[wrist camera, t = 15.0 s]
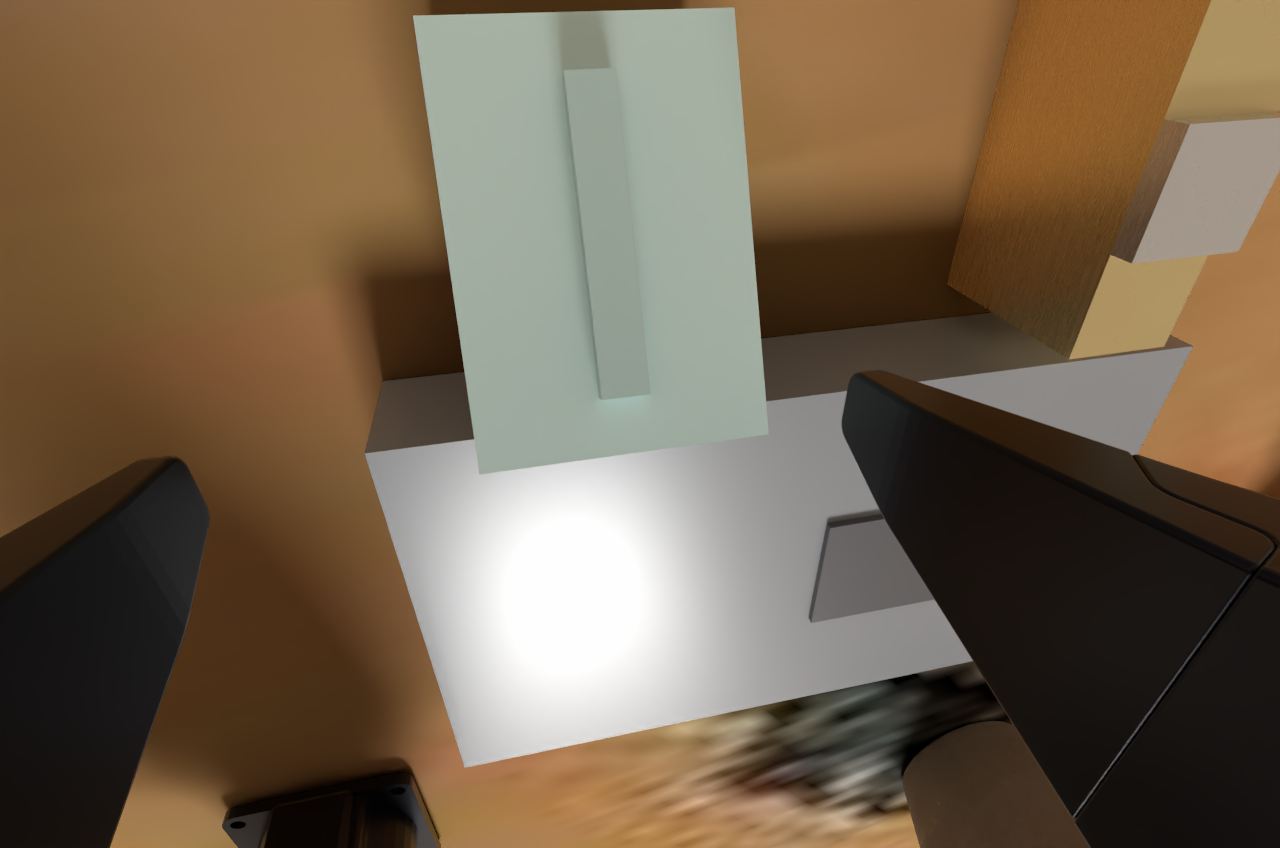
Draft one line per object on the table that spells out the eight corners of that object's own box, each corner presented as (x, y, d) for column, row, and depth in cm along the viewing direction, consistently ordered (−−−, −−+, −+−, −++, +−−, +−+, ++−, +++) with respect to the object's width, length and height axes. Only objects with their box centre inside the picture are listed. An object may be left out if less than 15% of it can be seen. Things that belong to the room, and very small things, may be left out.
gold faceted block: (1123, -37, 14) (1392, -51, 10) (1022, 274, 18) (1184, 357, 14) (1025, -35, 13) (1262, -48, 9) (944, 282, 17) (1086, 370, 13)
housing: (983, 584, 25) (1041, 652, 23) (466, 682, 22) (464, 774, 20) (1099, 300, 19) (1200, 349, 16) (382, 381, 15) (363, 458, 13)
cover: (718, 416, 14) (777, 438, 11) (489, 446, 13) (477, 479, 10) (687, 82, 13) (742, -6, 10) (439, 93, 12) (407, 1, 9)
